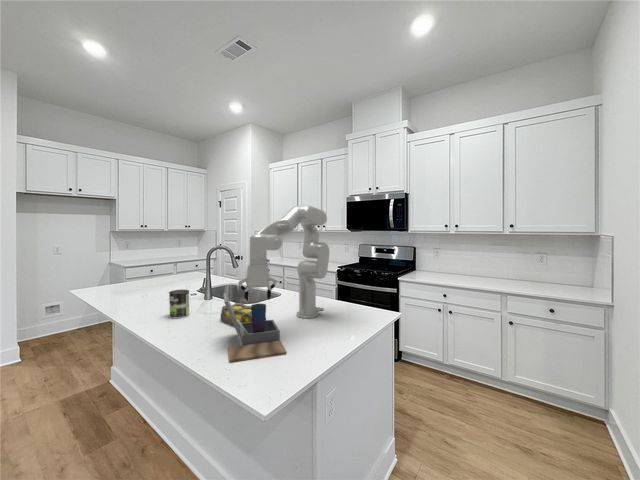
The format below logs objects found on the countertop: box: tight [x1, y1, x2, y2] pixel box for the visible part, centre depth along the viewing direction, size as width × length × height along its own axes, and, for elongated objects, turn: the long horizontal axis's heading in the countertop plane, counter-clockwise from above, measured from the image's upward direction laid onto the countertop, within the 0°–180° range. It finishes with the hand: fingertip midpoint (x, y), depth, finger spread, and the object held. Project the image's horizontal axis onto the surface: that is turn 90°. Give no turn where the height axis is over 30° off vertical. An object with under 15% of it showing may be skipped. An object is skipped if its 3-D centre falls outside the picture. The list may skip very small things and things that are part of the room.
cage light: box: [220, 302, 267, 328], centre depth 153 cm, size 15×8×30 cm
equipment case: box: [236, 319, 281, 346], centre depth 132 cm, size 18×16×12 cm
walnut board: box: [227, 340, 287, 364], centre depth 117 cm, size 22×12×1 cm, turn 110°
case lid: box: [223, 292, 241, 337], centre depth 128 cm, size 16×16×1 cm
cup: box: [250, 303, 267, 333], centre depth 132 cm, size 7×7×15 cm
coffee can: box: [168, 289, 190, 320], centre depth 163 cm, size 10×10×14 cm
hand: (257, 299), depth 131 cm, fingers open, 9 cm apart
